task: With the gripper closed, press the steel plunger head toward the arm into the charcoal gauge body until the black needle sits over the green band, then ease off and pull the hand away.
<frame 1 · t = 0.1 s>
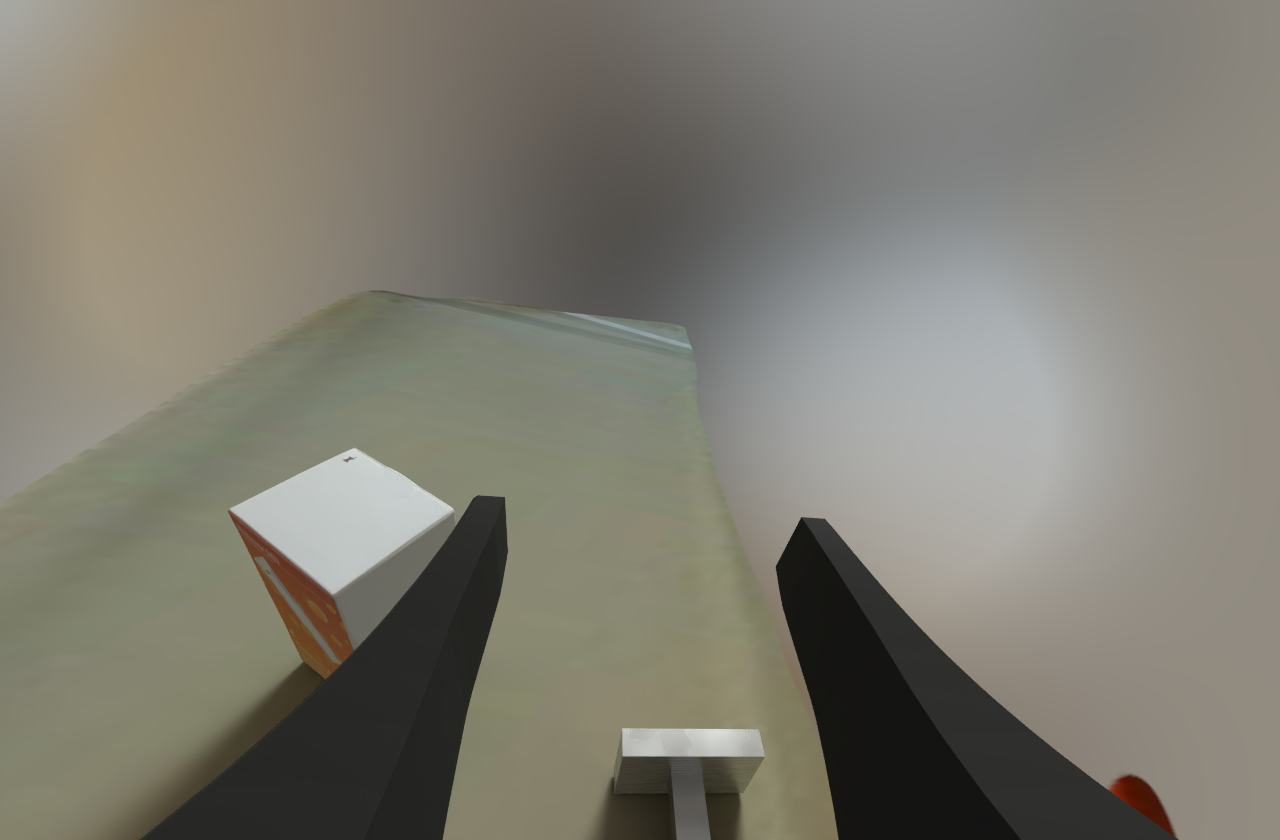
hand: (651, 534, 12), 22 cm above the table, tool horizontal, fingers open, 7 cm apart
small box: (391, 659, 30), on the table
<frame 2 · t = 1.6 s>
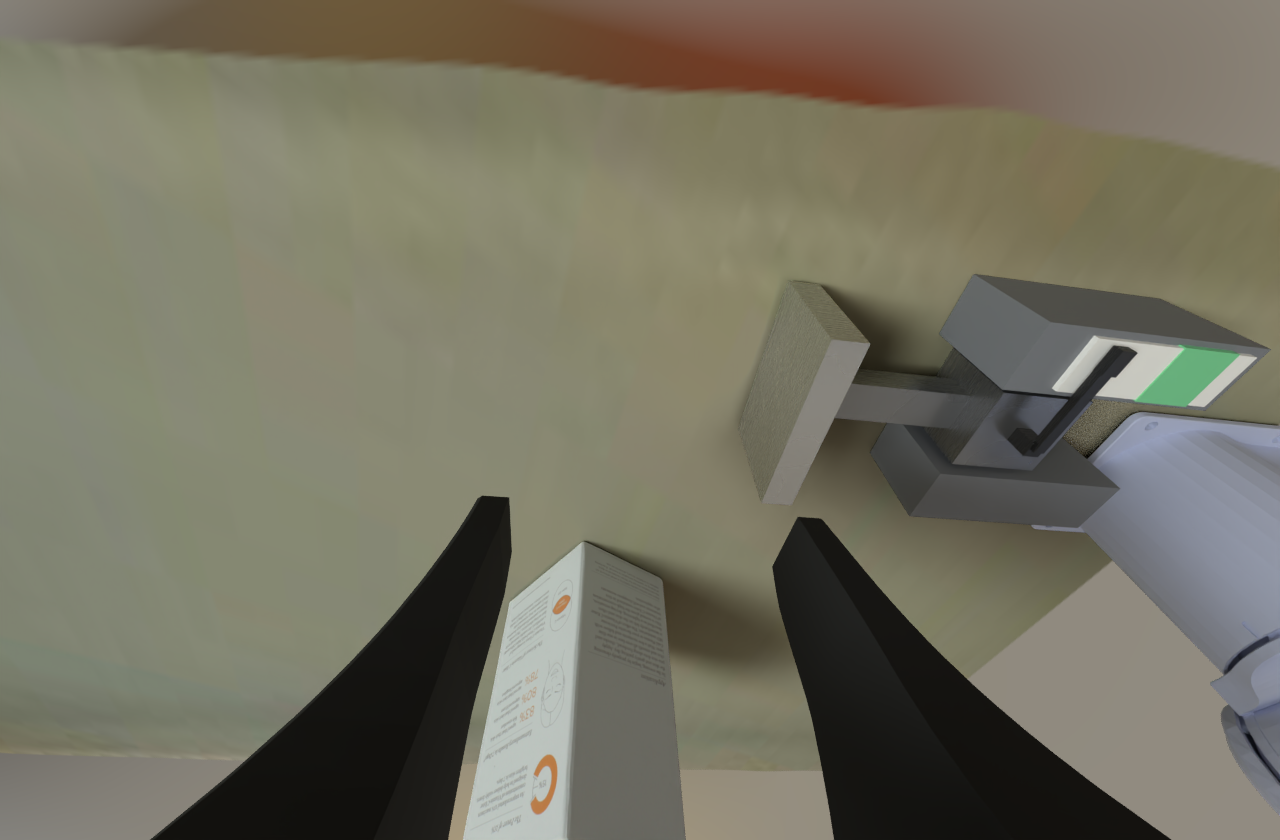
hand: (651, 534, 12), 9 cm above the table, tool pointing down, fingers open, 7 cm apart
plunger: (916, 400, 18), point 3 cm above the table, slide at 0.0 cm
gauge housing: (999, 384, 21), on the table
small box: (586, 586, 30), on the table
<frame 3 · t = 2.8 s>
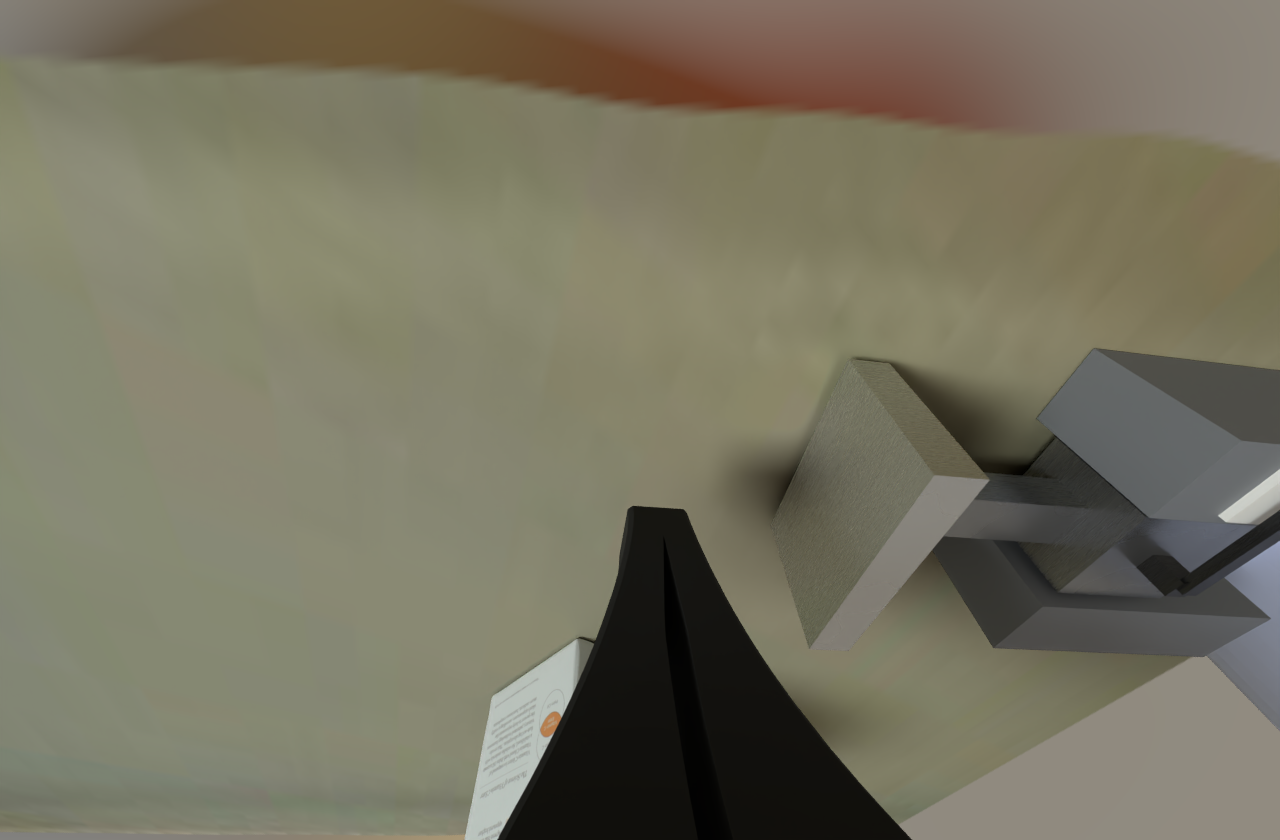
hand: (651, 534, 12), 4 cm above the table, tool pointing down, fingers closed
plunger: (1014, 513, 14), point 3 cm above the table, slide at 0.0 cm
gauge housing: (1103, 474, 16), on the table
small box: (581, 678, 25), on the table
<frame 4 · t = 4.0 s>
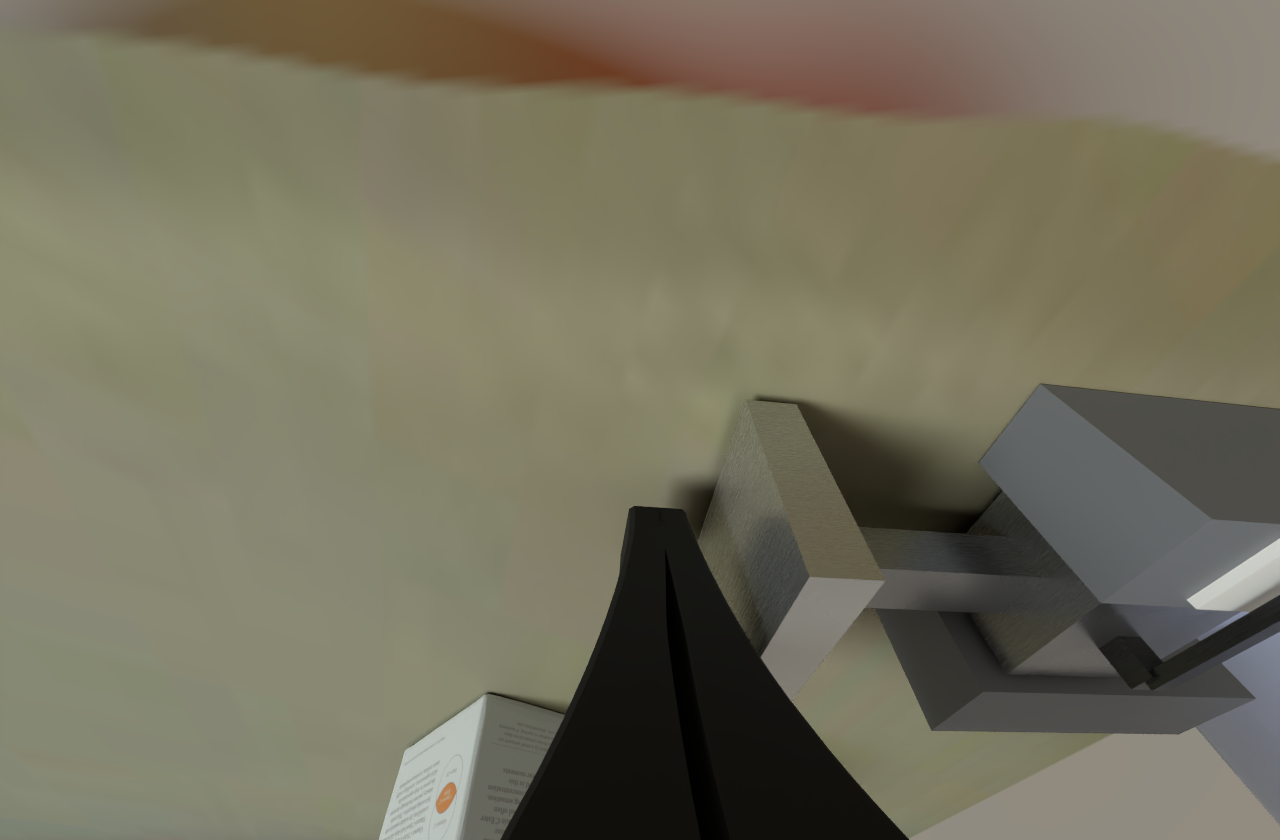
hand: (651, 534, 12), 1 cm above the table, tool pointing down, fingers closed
plunger: (952, 583, 11), point 3 cm above the table, slide at 0.2 cm, touching gripper
gauge housing: (1062, 522, 14), on the table
small box: (503, 730, 23), on the table
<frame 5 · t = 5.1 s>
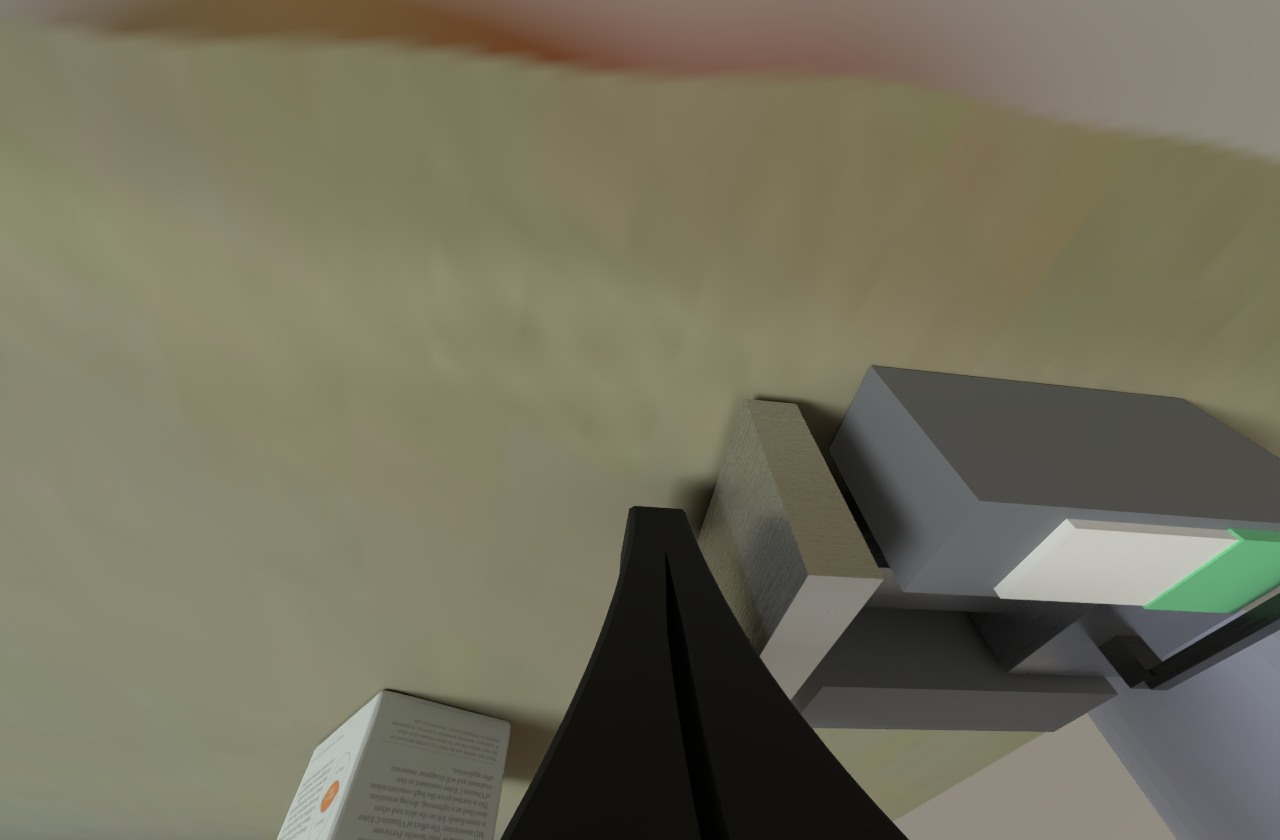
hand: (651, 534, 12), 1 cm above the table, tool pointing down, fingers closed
plunger: (951, 582, 11), point 3 cm above the table, slide at 4.3 cm, touching gripper
gauge housing: (933, 512, 14), on the table
small box: (415, 728, 23), on the table
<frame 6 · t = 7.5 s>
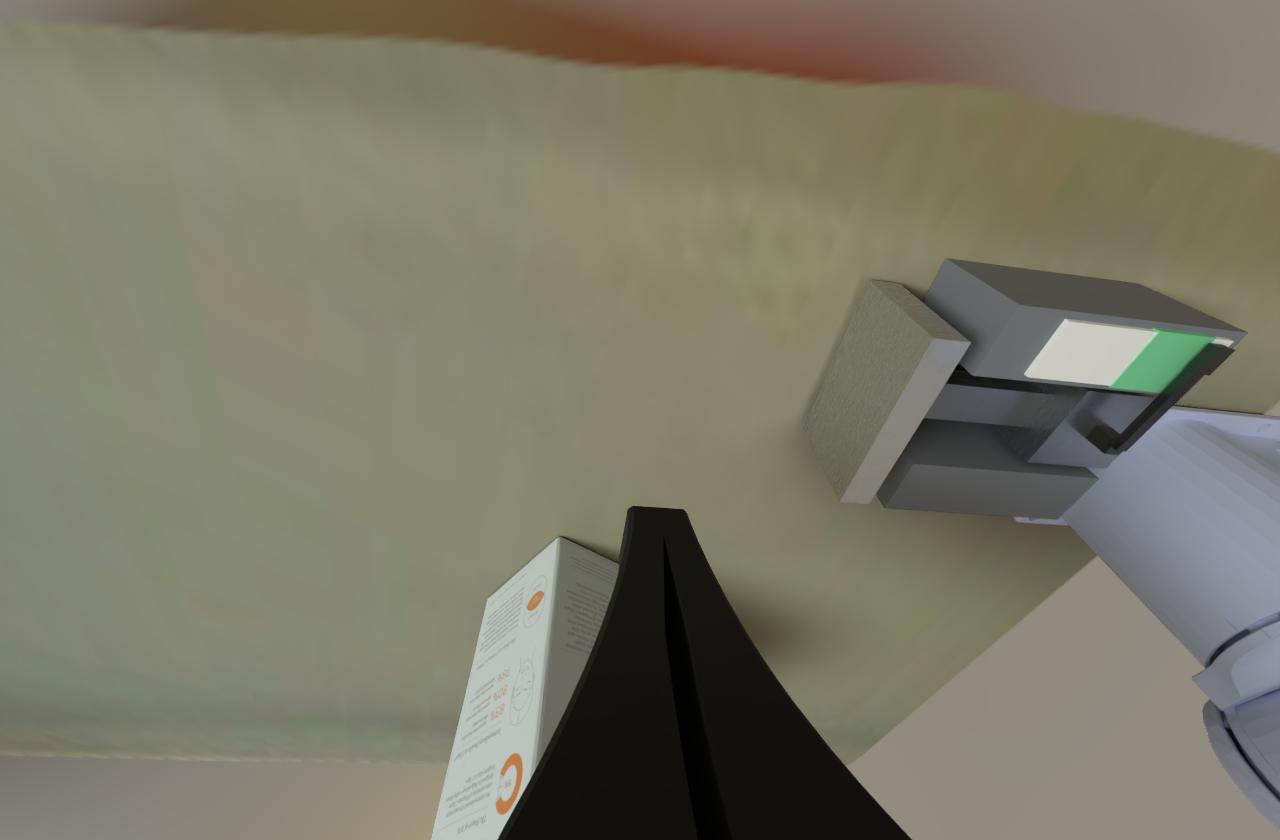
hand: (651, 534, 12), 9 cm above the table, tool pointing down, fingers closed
plunger: (993, 398, 18), point 3 cm above the table, slide at 4.3 cm
gauge housing: (976, 373, 20), on the table
small box: (564, 583, 29), on the table
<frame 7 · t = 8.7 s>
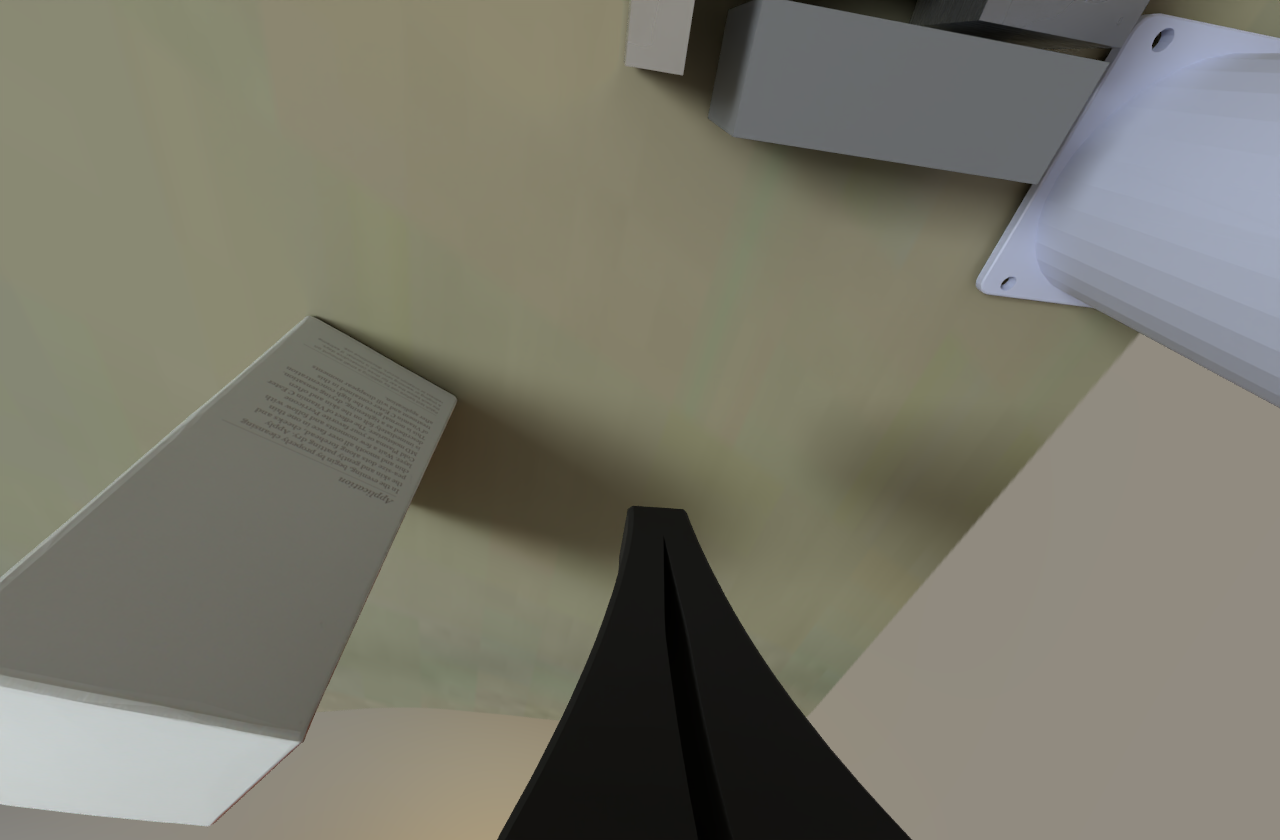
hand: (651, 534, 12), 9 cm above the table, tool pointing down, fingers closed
small box: (356, 414, 21), on the table
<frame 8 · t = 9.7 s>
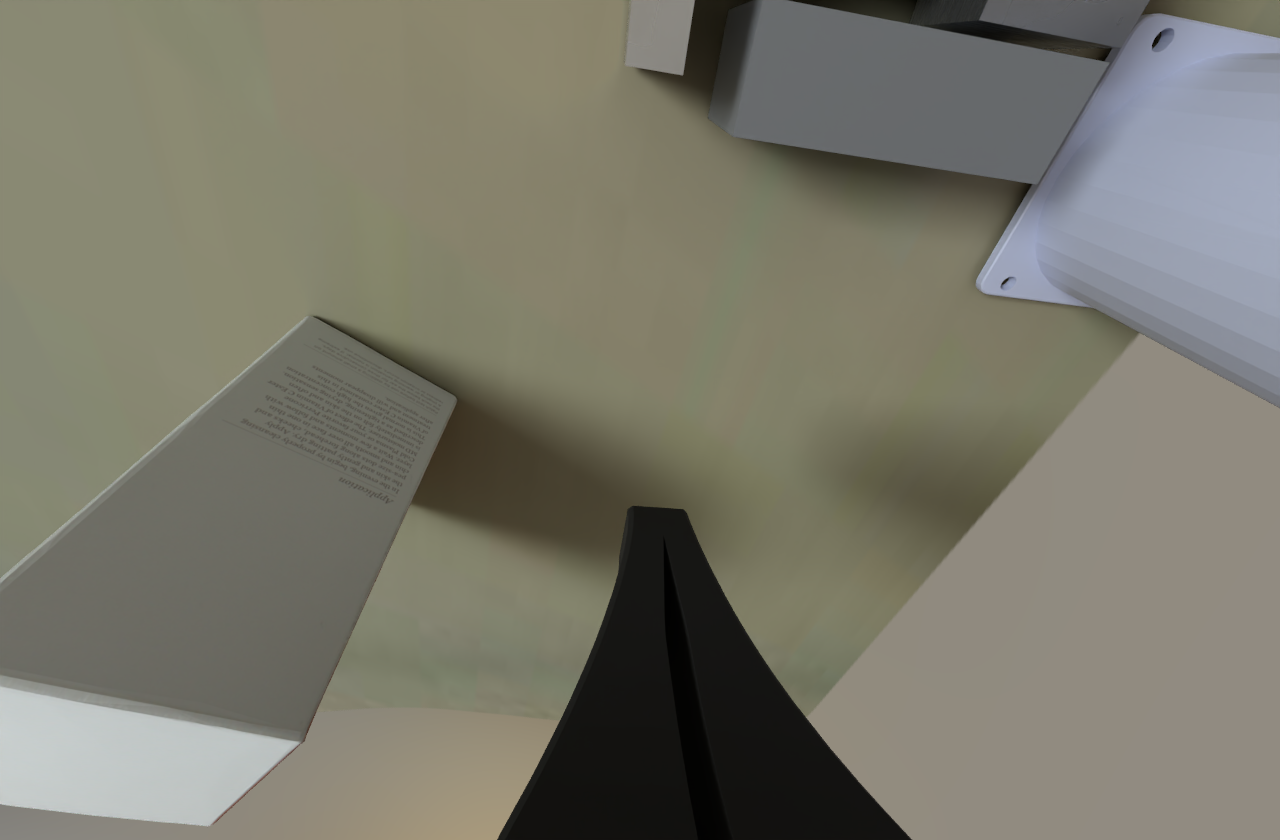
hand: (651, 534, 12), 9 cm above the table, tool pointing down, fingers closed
small box: (356, 414, 21), on the table
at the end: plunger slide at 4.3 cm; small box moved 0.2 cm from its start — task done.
